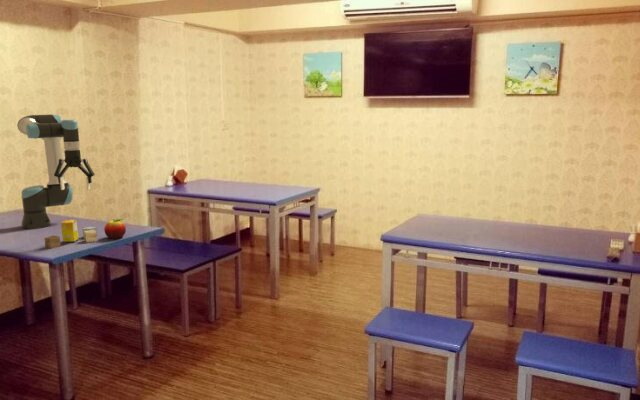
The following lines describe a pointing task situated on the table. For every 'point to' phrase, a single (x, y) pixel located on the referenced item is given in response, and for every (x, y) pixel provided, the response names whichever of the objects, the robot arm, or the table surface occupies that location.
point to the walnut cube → (52, 241)
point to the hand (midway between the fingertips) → (75, 189)
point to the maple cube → (90, 236)
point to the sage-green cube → (89, 230)
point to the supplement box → (69, 231)
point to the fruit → (115, 229)
